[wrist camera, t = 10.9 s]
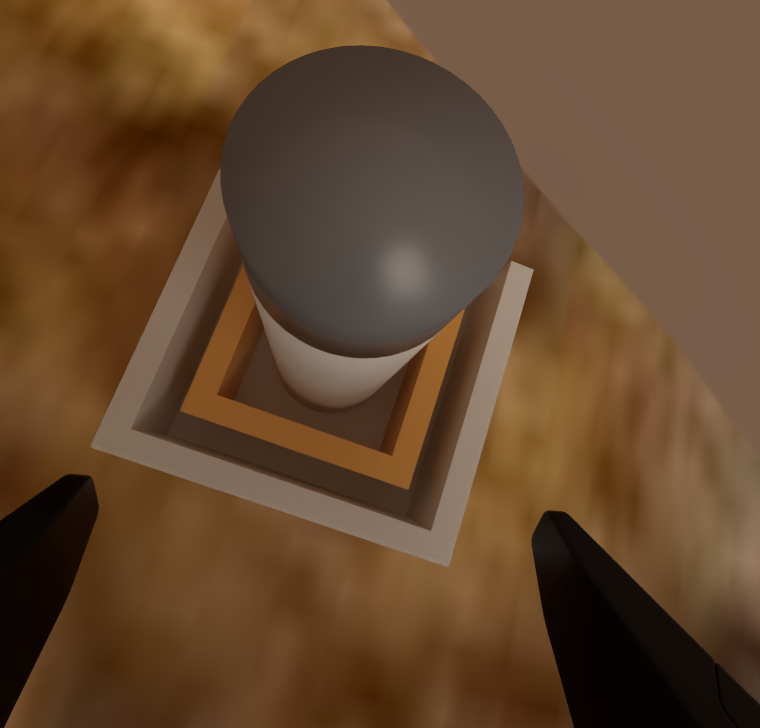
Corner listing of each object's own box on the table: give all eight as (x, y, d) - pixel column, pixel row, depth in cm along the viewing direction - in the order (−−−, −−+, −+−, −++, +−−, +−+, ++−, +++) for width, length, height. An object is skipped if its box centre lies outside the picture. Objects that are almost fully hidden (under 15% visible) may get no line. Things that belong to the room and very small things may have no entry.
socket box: (415, 540, 19) (448, 567, 14) (143, 448, 18) (89, 447, 13) (490, 291, 21) (539, 248, 17) (252, 200, 20) (237, 129, 16)
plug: (339, 435, 18) (408, 392, 6) (255, 367, 18) (149, 186, 6) (404, 353, 19) (577, 171, 7) (324, 289, 19) (354, -7, 7)
